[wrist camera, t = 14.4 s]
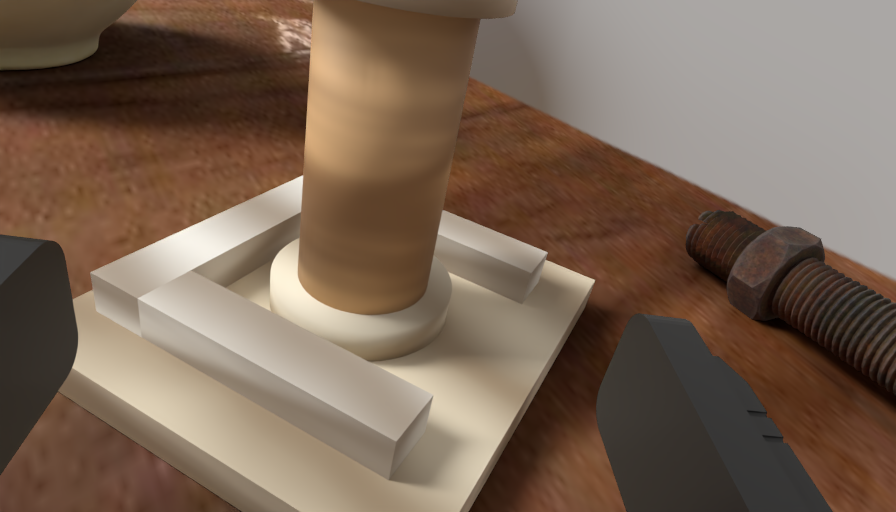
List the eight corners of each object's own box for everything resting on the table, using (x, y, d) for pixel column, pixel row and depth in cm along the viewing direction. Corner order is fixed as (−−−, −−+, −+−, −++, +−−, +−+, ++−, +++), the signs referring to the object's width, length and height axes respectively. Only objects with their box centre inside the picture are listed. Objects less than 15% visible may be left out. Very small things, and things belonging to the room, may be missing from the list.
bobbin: (389, 390, 19) (464, -31, 12) (229, 308, 20) (224, -94, 14) (473, 295, 24) (556, -36, 18) (339, 236, 26) (371, -82, 19)
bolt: (687, 286, 35) (974, 492, 24) (647, 257, 31) (959, 483, 20) (755, 204, 34) (1087, 381, 23) (721, 165, 30) (1092, 351, 19)
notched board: (407, 619, 14) (427, 545, 13) (20, 366, 19) (0, 288, 17) (585, 307, 27) (606, 251, 26) (331, 199, 31) (336, 145, 30)
